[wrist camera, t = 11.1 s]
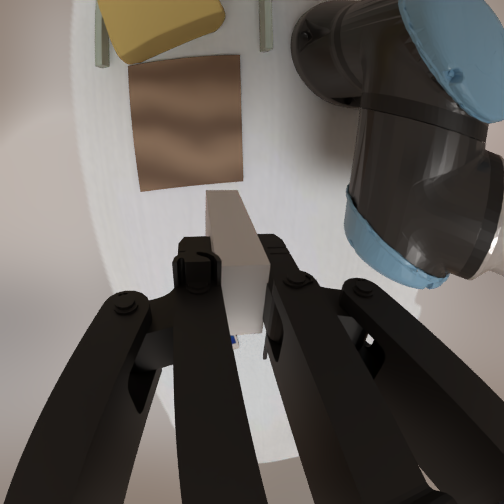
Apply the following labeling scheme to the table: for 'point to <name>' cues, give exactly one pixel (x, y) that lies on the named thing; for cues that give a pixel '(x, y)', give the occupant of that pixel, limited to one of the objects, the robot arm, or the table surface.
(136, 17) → the cheese
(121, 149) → the table surface
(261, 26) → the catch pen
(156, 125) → the serving board
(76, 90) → the table surface
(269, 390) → the table surface
